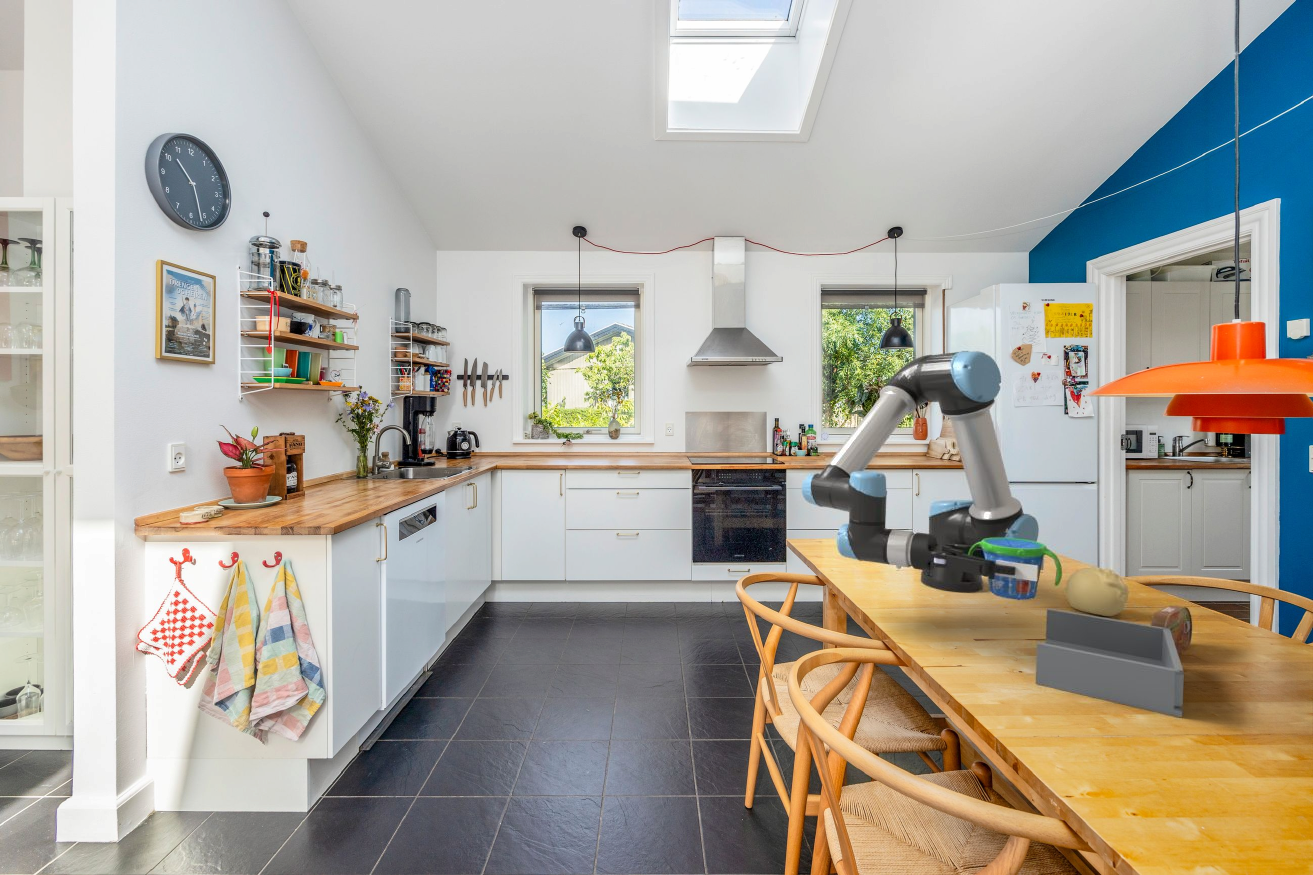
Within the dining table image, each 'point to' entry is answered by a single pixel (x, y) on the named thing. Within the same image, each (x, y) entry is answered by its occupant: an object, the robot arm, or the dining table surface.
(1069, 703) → the dining table surface
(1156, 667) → the bin
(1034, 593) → the snack cup
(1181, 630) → the tin
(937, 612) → the dining table surface
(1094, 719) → the dining table surface
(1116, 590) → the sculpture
